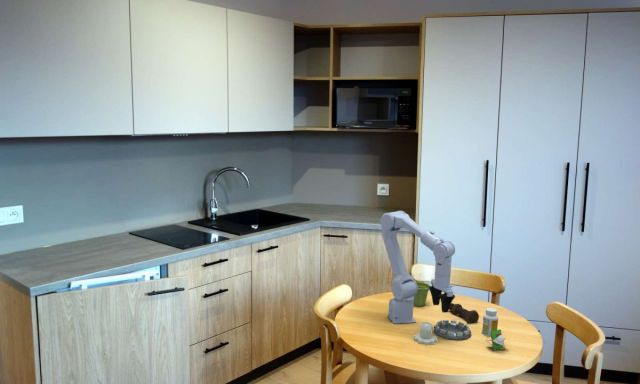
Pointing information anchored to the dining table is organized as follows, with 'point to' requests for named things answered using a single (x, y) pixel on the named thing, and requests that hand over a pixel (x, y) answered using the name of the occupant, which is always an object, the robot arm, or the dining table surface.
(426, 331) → the planet gear
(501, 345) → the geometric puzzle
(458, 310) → the bolt
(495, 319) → the supplement bottle
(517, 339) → the dining table surface
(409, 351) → the dining table surface
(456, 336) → the carrier
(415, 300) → the plant pot
